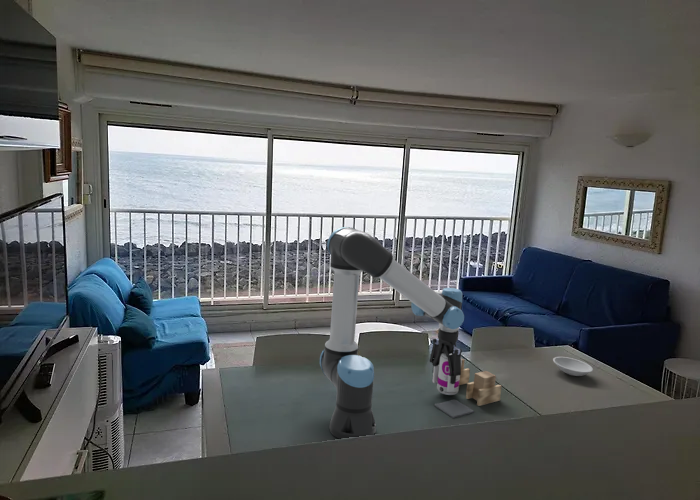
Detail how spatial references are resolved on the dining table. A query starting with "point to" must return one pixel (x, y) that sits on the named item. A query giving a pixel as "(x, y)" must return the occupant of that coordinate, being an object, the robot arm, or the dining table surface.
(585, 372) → the dish
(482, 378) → the rack
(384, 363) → the dining table surface
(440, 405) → the mat
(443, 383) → the supplement can
